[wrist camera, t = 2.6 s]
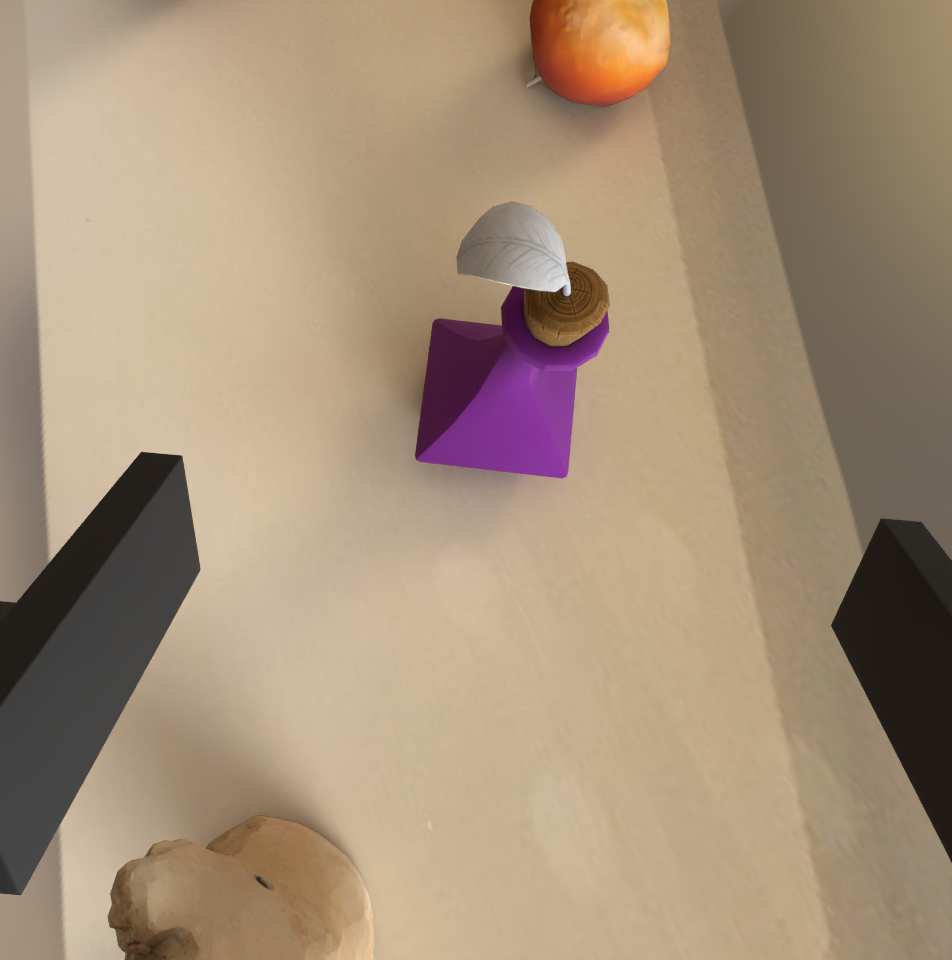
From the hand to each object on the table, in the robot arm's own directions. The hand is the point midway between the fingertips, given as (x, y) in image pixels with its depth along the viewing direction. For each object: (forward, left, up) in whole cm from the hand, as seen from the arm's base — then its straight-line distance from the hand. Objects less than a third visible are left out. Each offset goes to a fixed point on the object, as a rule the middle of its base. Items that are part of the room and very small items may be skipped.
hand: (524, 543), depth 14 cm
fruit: (+1, +32, -24) cm, 40 cm away
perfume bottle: (-1, +10, -24) cm, 26 cm away
